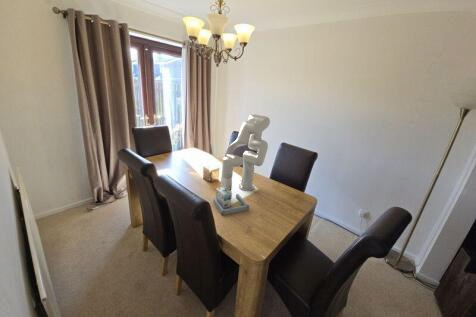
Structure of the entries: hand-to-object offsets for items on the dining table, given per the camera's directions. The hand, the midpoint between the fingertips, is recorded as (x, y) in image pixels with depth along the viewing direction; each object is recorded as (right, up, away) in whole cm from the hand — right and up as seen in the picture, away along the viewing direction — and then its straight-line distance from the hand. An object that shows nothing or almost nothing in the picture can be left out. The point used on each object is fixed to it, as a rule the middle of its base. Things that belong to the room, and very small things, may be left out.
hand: (225, 197), depth 149 cm
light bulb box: (-1, -4, -6) cm, 7 cm away
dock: (+4, -5, -8) cm, 10 cm away
